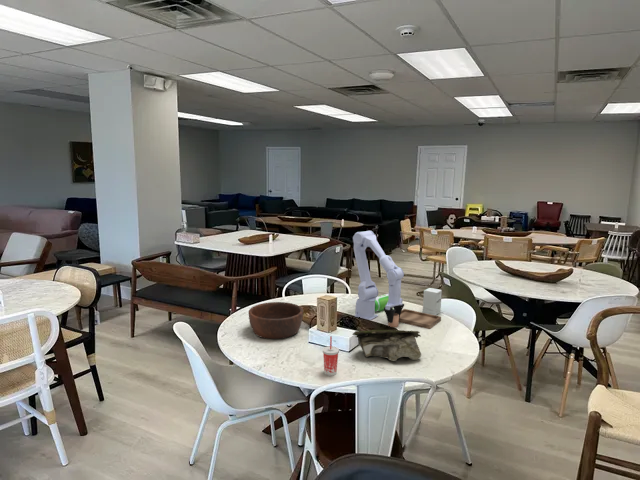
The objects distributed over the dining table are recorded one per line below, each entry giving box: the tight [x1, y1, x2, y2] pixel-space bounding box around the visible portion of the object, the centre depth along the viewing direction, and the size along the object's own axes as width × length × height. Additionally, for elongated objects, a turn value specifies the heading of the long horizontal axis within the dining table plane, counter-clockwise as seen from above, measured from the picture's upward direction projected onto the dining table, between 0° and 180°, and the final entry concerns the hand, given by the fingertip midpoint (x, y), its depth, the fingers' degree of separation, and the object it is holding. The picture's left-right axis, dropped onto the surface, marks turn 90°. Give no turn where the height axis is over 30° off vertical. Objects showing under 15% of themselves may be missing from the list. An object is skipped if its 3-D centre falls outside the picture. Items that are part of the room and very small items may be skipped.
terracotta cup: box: [387, 313, 400, 328], centre depth 202 cm, size 5×5×6 cm
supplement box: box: [422, 287, 443, 316], centre depth 220 cm, size 7×7×13 cm
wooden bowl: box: [248, 301, 304, 340], centre depth 193 cm, size 25×25×10 cm
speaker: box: [375, 292, 389, 313], centre depth 226 cm, size 18×7×8 cm, turn 133°
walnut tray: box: [399, 308, 442, 330], centre depth 209 cm, size 20×15×2 cm
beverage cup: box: [322, 335, 340, 376], centre depth 153 cm, size 6×6×14 cm
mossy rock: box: [352, 329, 422, 362], centre depth 166 cm, size 28×13×15 cm
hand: (393, 320), depth 202 cm, fingers open, 7 cm apart
